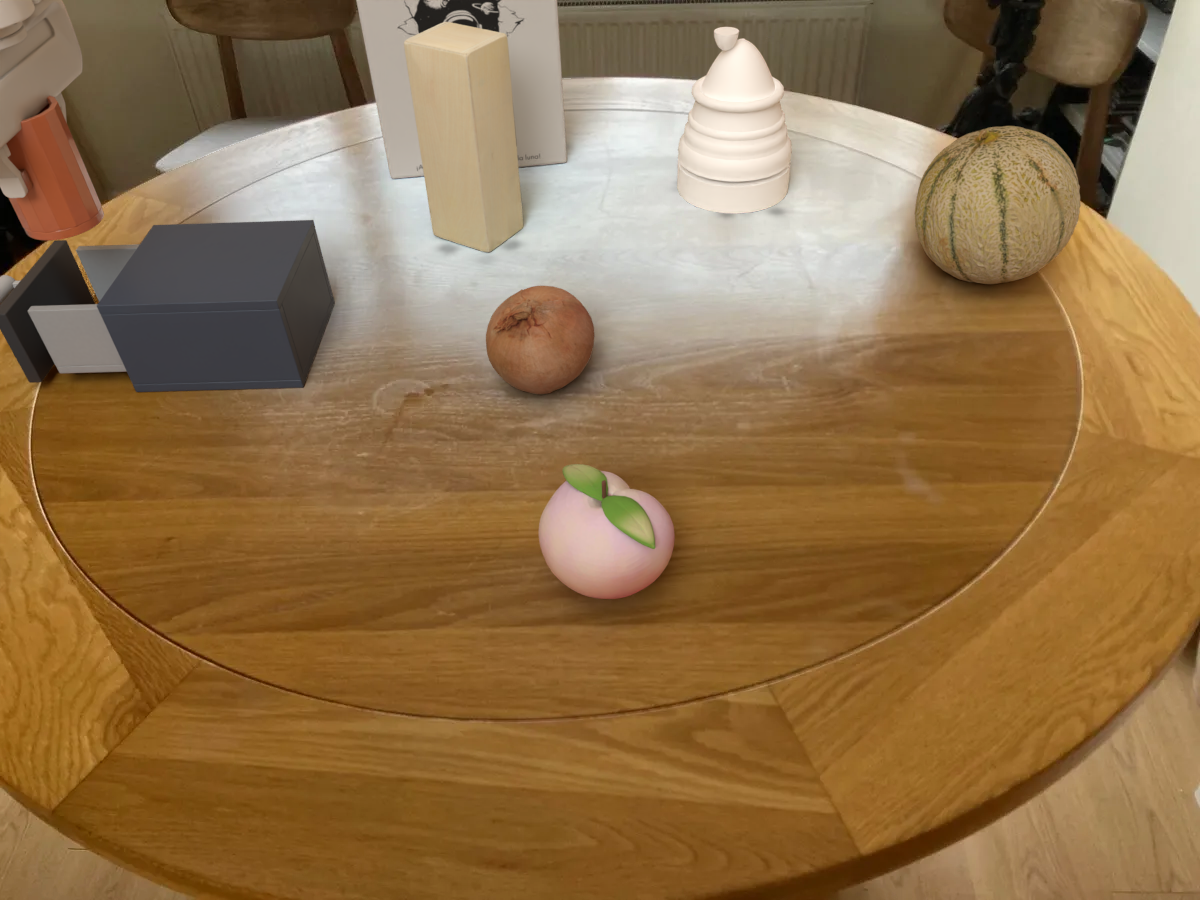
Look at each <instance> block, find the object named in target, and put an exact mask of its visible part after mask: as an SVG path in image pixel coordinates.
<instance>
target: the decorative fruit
mask: <svg viewBox="0 0 1200 900" xmlns="http://www.w3.org/2000/svg"><path fill="white" fill-rule="evenodd" d="M561 471H562V475H563V477H564V479H565V481H564V482H563V483H562V484H561V485H560V486H559V487H558V488H557V489H556V491H555V492H554V493H553V495H551V497H550V499H549V500H548V501H547V503H546V505H545V506H544V509H543V510H542V513H541V515H540V518H539V524H538V542H539V547H540V551H541V553H542V556H543V558H544V561H545V563H546V565H547V567H548V569H549V570H550V571H551V573H552V574H553V575H554V576H555V578H557V579H558V581H560V582H561V584H563V585H565V586H566V587H567V588H569V589H570V590H572V591H574V592H576V593H578V594H579V595H582V596H585V597H589V598H593V599H599V600H600V599H601V600H617V599H622V598H627V597H630V596H632V595H634V594H637V593H639V592H640V591H642V590H644V589H646V588H648V587H649V586H650V585H651V584H653V583H654V582H655V581H656V580H657V579H658V578H659V577H660V576H661V575H662V574H663V572H664V571H665V569H666V568H667V566H668V565H669V562H670V560H671V558H672V555H673V551H674V547H675V538H676V535H675V526H674V523H673V521H672V518H671V515H670V514H669V512H668V510H667V509H666V508H665V507H664V506H663V505H662V503H661V502H660V501H659V500H658V499H657V498H655V497H654V496H653V495H651V494H649V493H648V492H646V491H644V490H639V489H635V488H630V486H629V485H628V483H627V482H626V481H625V480H624V479H623V478H621V477H620V476H619V475H617V474H616V473H614V472H610V471H607V470H606V471H605V470H600V469H598V468H596V467H594V466H591V465H588V464H583V463H573V464H567V465H564V466H563V467H562V470H561Z"/></svg>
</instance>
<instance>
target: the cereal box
mask: <svg viewBox="0 0 1200 900" xmlns="http://www.w3.org/2000/svg"><path fill="white" fill-rule="evenodd" d="M355 2H356V6H357V11H358V17H359V22H360V27H361V32H362V37H363V43H364V48H365V54H366V58H367V63H368V67H369V68H368V69H369V73H370V74H369V75H370V79H371V84H372V88H373V94H374V99H375V104H376V109H377V115H378V120H379V125H380V130H381V135H382V140H383V145H384V150H385V155H386V161H387V166H388V171H389V177H390V179H392V180H393V179H394V180H395V179H403V178H405V179H407V178H416V177H417V178H418V177H424V172H423V165H422V159H421V152H420V146H419V139H418V132H417V126H416V120H415V113H414V107H413V101H412V95H411V88H410V82H409V75H408V69H407V62H406V56H405V49H404V42H405V40H407V39H408V38H410V37H413V36H415V35H417V34H419V33H421V32H423V31H426V30H428V29H430V28H432V27H434V26H436V25H438V24H440V23H443V22H451V23H456V24H461V25H466V26H471V27H476V28H481V29H486V30H490V31H495V32H500V33H504V34H506V35H507V40H508V50H509V62H510V74H511V86H512V99H513V111H514V122H515V134H516V145H517V156H518V168H523V167H533V166H545V165H556V164H565V163H566V162H567V161H568V154H567V153H568V152H567V139H566V138H567V137H566V135H567V134H566V123H565V122H566V121H565V104H564V89H563V73H562V71H563V70H562V58H561V57H562V56H561V41H560V40H561V39H560V24H559V8H558V0H355Z"/></svg>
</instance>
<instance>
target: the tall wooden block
mask: <svg viewBox="0 0 1200 900" xmlns="http://www.w3.org/2000/svg"><path fill="white" fill-rule="evenodd" d="M404 49H405V56H406V62H407V69H408V75H409V82H410V88H411V95H412V101H413V107H414V113H415V120H416V126H417V132H418V139H419V146H420V152H421V159H422V165H423V172H424V176H423V177H424V184H425V191H426V196H427V197H426V198H427V203H428V209H429V215H430V223H431V228H432V234H433V235H434V236H435V237H437V238H440V239H443V240H446V241H450V242H452V243H456V244H458V245H462V246H465V247H468V248H471V249H474V250H477V251H480V252H482V253H491V252H492V251H494V250H495V249H497V248H498V247H500V246H501V245H503V243H504V242H506V241H508V240H509V239H510V238H511V237H513V236H514V235H516V234H517V233H519V232H520V231H521V230H522V229H523V228H524V218H523V217H524V216H523V204H522V193H521V192H522V191H521V181H520V170H519V169H520V167H518V156H517V145H516V134H515V122H514V111H513V99H512V86H511V74H510V62H509V50H508V40H507V35H506V34H504V33H500V32H495V31H490V30H486V29H481V28H476V27H471V26H466V25H461V24H456V23H451V22H443V23H440V24H438V25H436V26H434V27H432V28H430V29H428V30H426V31H423V32H421V33H419V34H417V35H415V36H413V37H410V38H408V39H407V40H405V42H404Z"/></svg>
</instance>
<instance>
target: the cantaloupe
mask: <svg viewBox="0 0 1200 900" xmlns="http://www.w3.org/2000/svg"><path fill="white" fill-rule="evenodd" d="M1080 188H1081V186H1080V184H1079V178H1078V174H1077V170H1076V168H1075V167H1074V163H1073V162H1072V160H1071V158H1070V157H1069V155H1068V154H1067V152H1065V151H1064V149H1063V148H1062V147H1061V146H1060V145H1059V144H1058V143H1057V142H1056V141H1055V140H1054V139H1053V138H1050V137H1049V136H1047V135H1045V134H1043V133H1042V132H1039V131H1036V130H1032V129H1029V128H1024V127H1021V126H1015V125H1003V126H992V127H991V126H990V127H987V128H983V129H979V130H975V131H972V132H969V133H966V134H964V135H962V136H960V137H958V138H957V139H955V140H954V141H953V142H951V143H950V144H949V145H947V146H945V147H944V148H943V149H942V150H941V151H940V152H938V153H937V155H936V156H935V157H934V158H933V159H932V161H931V162H930V163H929V165H928V167H927V168H926V170H925V171H924V173H923V174H922V177H921V179H920V182H919V186H918V191H917V194H916V199H915V205H914V206H915V208H914V224H915V229H916V233H917V238H918V240H919V243H920V244H921V247H922V248H923V251H924V253H925V254H926V255H927V257H928V258H929V260H931V262H932V263H934V264H935V266H937V267H938V268H940V269H941V270H942V271H943V272H945V273H947V274H948V275H950V276H952V277H954V278H956V279H958V280H960V281H965V282H968V283H977V284H982V285H998V284H1002V283H1009V282H1015V281H1018V280H1022V279H1025V278H1027V277H1030V276H1032V275H1034V274H1036V273H1037V272H1039V271H1040V270H1042V269H1043V268H1044V267H1046V266H1047V265H1048V264H1050V263H1051V262H1052V261H1053V260H1054V259H1056V258H1057V257H1058V256H1059V255H1060V253H1061V252H1063V250H1064V248H1065V247H1066V246H1067V245H1068V243H1069V242H1070V240H1071V239H1072V236H1073V235H1074V231H1075V229H1076V227H1077V225H1078V224H1079V223H1078V222H1079V220H1080V219H1079V218H1080V217H1079V216H1080V213H1081V211H1080V209H1081V194H1080V190H1081V189H1080Z"/></svg>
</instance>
